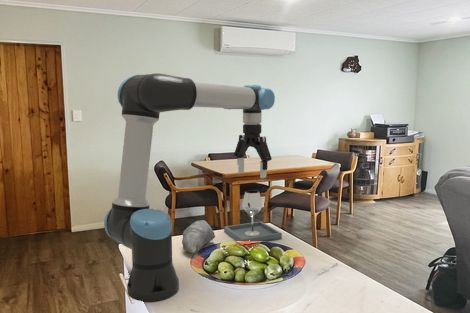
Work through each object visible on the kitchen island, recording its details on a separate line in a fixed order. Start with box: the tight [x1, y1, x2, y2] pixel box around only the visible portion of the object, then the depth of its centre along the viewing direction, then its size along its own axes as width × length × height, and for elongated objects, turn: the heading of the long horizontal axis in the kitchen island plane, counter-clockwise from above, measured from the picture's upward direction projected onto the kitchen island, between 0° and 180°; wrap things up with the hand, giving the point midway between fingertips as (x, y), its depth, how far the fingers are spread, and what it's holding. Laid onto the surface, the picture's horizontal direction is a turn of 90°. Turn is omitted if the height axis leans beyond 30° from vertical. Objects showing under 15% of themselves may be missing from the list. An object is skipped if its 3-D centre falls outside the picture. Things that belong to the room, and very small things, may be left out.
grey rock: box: [181, 219, 216, 255], centre depth 150 cm, size 16×15×10 cm
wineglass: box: [241, 189, 263, 236], centre depth 164 cm, size 8×8×18 cm
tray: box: [223, 220, 283, 242], centre depth 165 cm, size 18×18×2 cm
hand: (251, 175), depth 162 cm, fingers open, 13 cm apart
